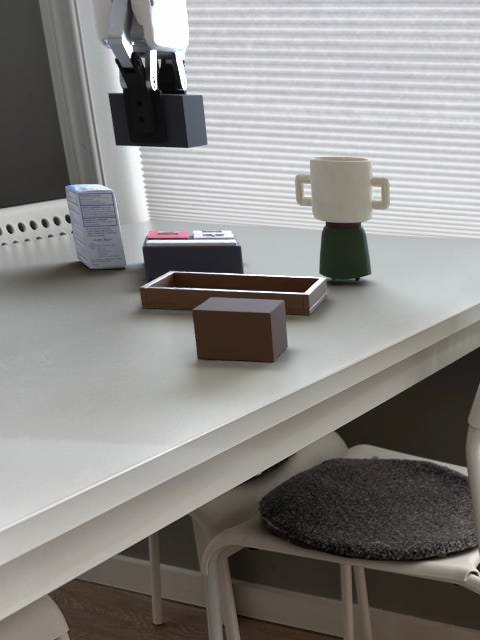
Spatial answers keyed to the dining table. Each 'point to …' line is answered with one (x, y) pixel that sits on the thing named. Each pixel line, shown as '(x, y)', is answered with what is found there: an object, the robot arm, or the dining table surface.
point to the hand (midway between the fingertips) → (161, 138)
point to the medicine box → (95, 226)
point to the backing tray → (233, 290)
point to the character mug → (342, 211)
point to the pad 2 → (240, 329)
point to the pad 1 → (179, 116)
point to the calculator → (191, 252)
